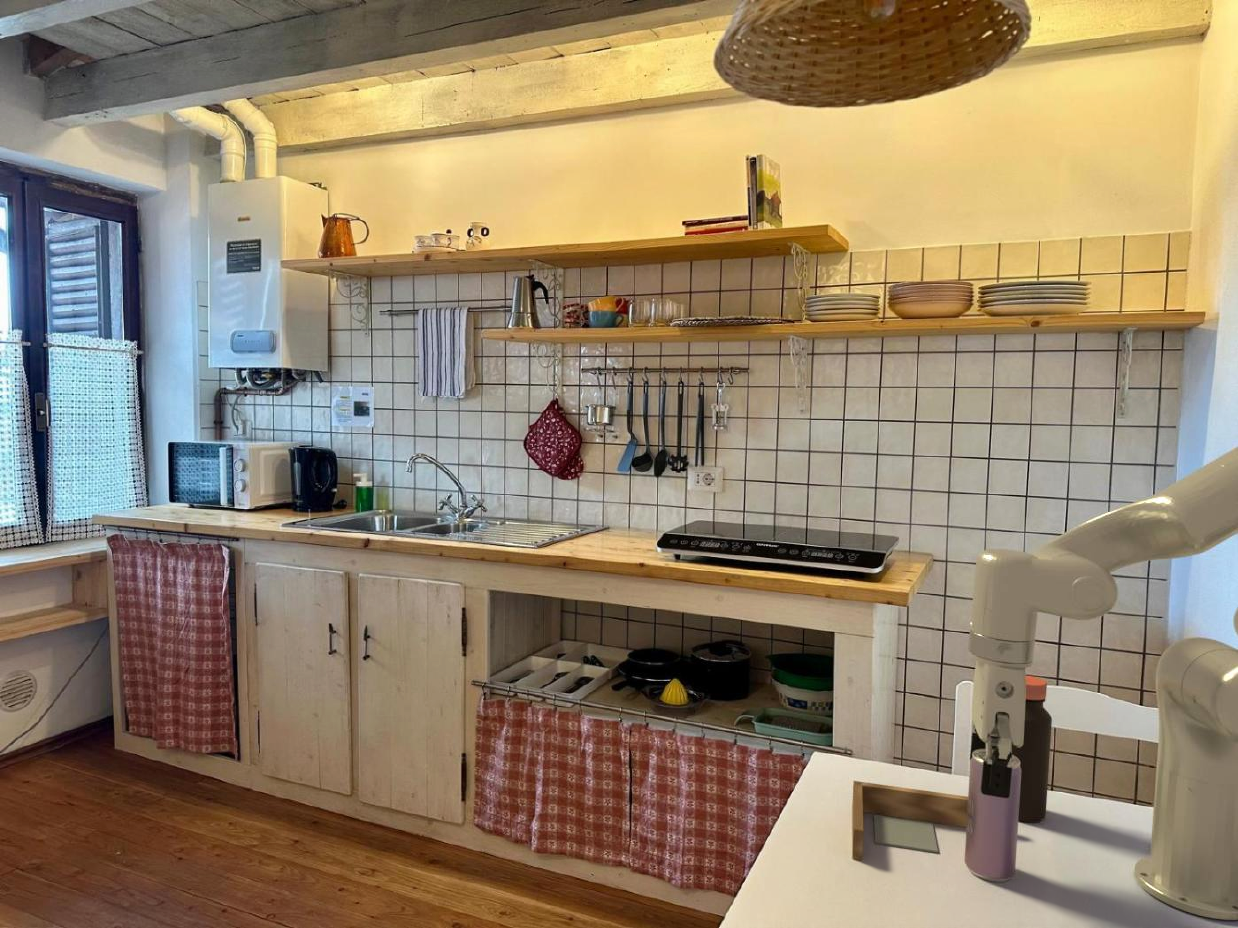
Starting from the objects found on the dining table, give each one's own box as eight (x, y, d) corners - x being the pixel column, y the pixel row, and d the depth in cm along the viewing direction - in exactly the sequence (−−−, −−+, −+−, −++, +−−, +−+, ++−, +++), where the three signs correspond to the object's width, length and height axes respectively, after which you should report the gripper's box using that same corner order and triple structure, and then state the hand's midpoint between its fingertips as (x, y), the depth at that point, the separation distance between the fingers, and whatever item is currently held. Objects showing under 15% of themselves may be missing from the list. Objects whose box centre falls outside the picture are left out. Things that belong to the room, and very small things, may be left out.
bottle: (1027, 827, 120) (1035, 690, 119) (985, 807, 126) (993, 676, 125) (1055, 817, 124) (1064, 683, 123) (1013, 798, 130) (1021, 670, 128)
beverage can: (1020, 886, 105) (1027, 769, 104) (969, 879, 106) (976, 764, 105) (1008, 861, 111) (1015, 750, 110) (960, 855, 112) (966, 745, 111)
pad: (932, 825, 120) (932, 823, 120) (937, 853, 113) (937, 850, 113) (873, 816, 122) (873, 814, 122) (875, 843, 115) (875, 841, 115)
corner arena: (998, 828, 120) (999, 800, 120) (1018, 885, 105) (1020, 854, 105) (852, 806, 125) (853, 780, 125) (852, 858, 111) (853, 828, 110)
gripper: (1048, 671, 97) (1034, 815, 99) (1019, 634, 114) (1008, 757, 115) (978, 662, 99) (965, 803, 101) (960, 627, 116) (949, 748, 117)
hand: (988, 778), depth 108 cm, fingers open, 9 cm apart
